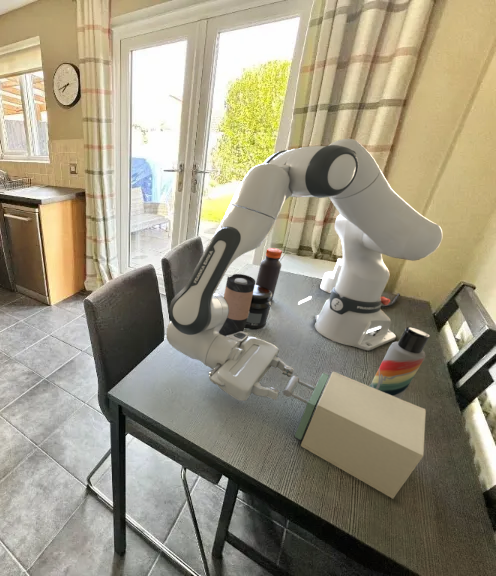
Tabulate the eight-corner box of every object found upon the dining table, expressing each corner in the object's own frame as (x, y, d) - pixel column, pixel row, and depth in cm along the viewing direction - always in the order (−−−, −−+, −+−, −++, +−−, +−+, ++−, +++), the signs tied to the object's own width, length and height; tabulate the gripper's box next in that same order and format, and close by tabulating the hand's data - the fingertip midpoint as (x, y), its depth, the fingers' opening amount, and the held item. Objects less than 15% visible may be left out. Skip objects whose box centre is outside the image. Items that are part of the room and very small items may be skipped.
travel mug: (244, 345, 91) (258, 286, 83) (217, 342, 93) (229, 283, 84) (240, 331, 98) (252, 274, 89) (215, 328, 100) (225, 272, 91)
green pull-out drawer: (270, 422, 66) (281, 389, 61) (287, 394, 73) (298, 362, 69) (376, 482, 55) (399, 446, 50) (384, 441, 62) (404, 407, 57)
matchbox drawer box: (300, 445, 62) (317, 404, 57) (316, 410, 70) (332, 371, 65) (393, 499, 53) (423, 455, 48) (399, 450, 61) (426, 409, 56)
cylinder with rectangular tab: (346, 296, 119) (357, 268, 114) (319, 290, 124) (329, 263, 118) (345, 288, 126) (356, 260, 121) (320, 282, 131) (329, 256, 125)
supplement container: (261, 315, 107) (269, 285, 101) (269, 333, 97) (278, 300, 92) (230, 312, 109) (236, 282, 103) (234, 329, 99) (241, 296, 94)
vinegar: (250, 294, 121) (261, 246, 112) (268, 296, 120) (281, 247, 111) (255, 303, 115) (267, 253, 106) (274, 304, 114) (288, 254, 105)
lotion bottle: (360, 391, 75) (393, 323, 66) (381, 390, 76) (417, 322, 67) (380, 410, 70) (419, 339, 61) (402, 408, 70) (445, 337, 61)
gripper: (206, 366, 67) (272, 400, 58) (244, 328, 80) (303, 351, 72) (202, 387, 70) (264, 422, 61) (240, 347, 83) (295, 372, 74)
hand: (285, 383), depth 67 cm, fingers open, 8 cm apart
